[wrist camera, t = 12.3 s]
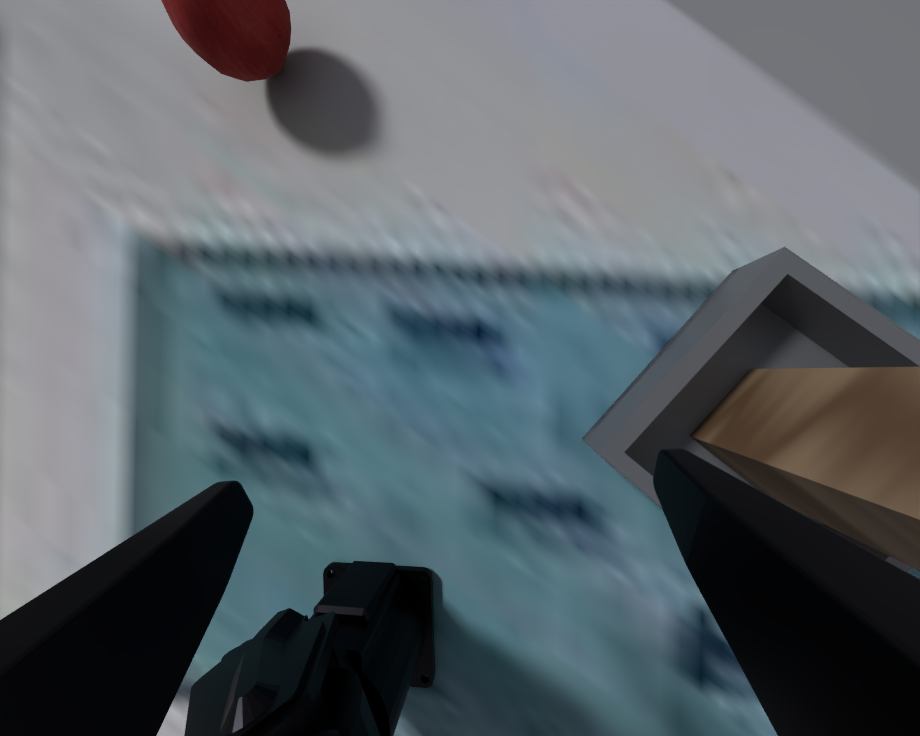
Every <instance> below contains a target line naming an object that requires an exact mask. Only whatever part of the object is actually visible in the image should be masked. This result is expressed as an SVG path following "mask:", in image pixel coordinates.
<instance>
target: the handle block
mask: <svg viewBox="0 0 920 736" xmlns="http://www.w3.org/2000/svg"><path fill="white" fill-rule="evenodd" d="M690 437H691V438H692V439H694V440H695V441H696V442H698V443H699V444H700V445H701V446H703V447H704V448H705V449H707V450H708V451H709V452H710V453H712V454H713V455H714V456H715V457H717V458H718V459H719V460H721V461H722V462H723V463H724V464H726V465H727V466H728V467H730V468H731V469H732V470H733V471H735V472H736V473H737V474H738V475H740V476H741V477H742V478H744V479H745V480H746V481H747V482H749V483H750V484H751V485H752V486H754V487H755V488H756V489H758V490H759V491H761V492H763V493H765V494H767V495H768V496H770V497H772V498H774V499H776V500H777V501H779V502H781V503H783V504H785V505H786V506H788V507H790V508H792V509H794V510H796V511H798V512H800V513H802V514H804V515H806V516H808V517H810V518H813V519H815V520H817V521H819V522H821V523H823V524H825V525H827V526H829V527H831V528H833V529H835V530H837V531H839V532H841V533H843V534H845V535H847V536H849V537H851V538H853V539H855V540H857V541H859V542H862V543H864V544H866V545H868V546H870V547H872V548H874V549H876V550H878V551H880V552H882V553H884V554H886V555H888V556H890V557H892V558H894V559H896V560H898V561H900V562H902V563H904V564H906V565H909V566H911V567H913V568H915V569H917V570H919V571H920V367H862V368H785V369H750V370H749V371H748V372H747V373H746V374H745V375H744V376H743V378H742V379H741V380H740V381H739V382H738V383H737V384H736V385H735V386H734V387H733V388H732V390H731V391H730V392H729V393H728V394H727V395H726V396H725V397H724V398H723V399H722V401H721V402H720V403H719V404H718V405H717V406H716V407H715V408H714V409H713V410H712V412H711V413H710V414H709V415H708V416H707V417H706V418H705V419H704V420H703V421H702V422H701V424H700V425H699V426H698V427H697V428H696V429H695V430H694V431H693V432H692V433H691V435H690Z"/></svg>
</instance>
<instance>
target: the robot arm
mask: <svg viewBox="0 0 920 736" xmlns="http://www.w3.org/2000/svg"><path fill="white" fill-rule="evenodd" d="M653 486H654V489H655V492H656V494H657V497H658V499H659V502H660V504H661V506H662V509H663V511H664V514H665V516H666V518H667V521H668V523H669V526H670V528H671V530H672V533H673V535H674V538H675V540H676V542H677V545H678V547H679V550H680V552H681V554H682V557H683V559H684V561H685V563H686V565H687V567H688V569H689V571H690V573H691V575H692V577H693V579H694V581H695V583H696V585H697V586H698V588H699V590H700V592H701V594H702V596H703V598H704V599H705V601H706V603H707V605H708V607H709V609H710V611H711V612H712V614H713V616H714V618H715V620H716V622H717V624H718V625H719V627H720V629H721V631H722V633H723V635H724V637H725V638H726V640H727V642H728V644H729V646H730V648H731V650H732V651H733V653H734V655H735V657H736V659H737V661H738V663H739V664H740V666H741V668H742V670H743V672H744V674H745V676H746V677H747V679H748V681H749V683H750V685H751V687H752V689H753V690H754V692H755V694H756V696H757V698H758V700H759V702H760V703H761V705H762V707H763V709H764V711H765V713H766V715H767V716H768V718H769V720H770V722H771V724H772V726H773V728H774V729H775V731H776V733H777V735H778V736H920V579H918V578H916V577H914V576H913V575H911V574H909V573H907V572H905V571H904V570H902V569H900V568H898V567H896V566H895V565H893V564H891V563H889V562H887V561H886V560H884V559H882V558H880V557H878V556H877V555H875V554H873V553H871V552H869V551H868V550H866V549H864V548H862V547H860V546H859V545H857V544H855V543H853V542H851V541H850V540H848V539H846V538H844V537H842V536H841V535H839V534H837V533H835V532H833V531H832V530H830V529H828V528H826V527H824V526H823V525H821V524H819V523H817V522H815V521H814V520H812V519H810V518H808V517H806V516H804V515H803V514H801V513H799V512H797V511H795V510H794V509H792V508H790V507H788V506H786V505H785V504H783V503H781V502H779V501H777V500H776V499H774V498H772V497H770V496H768V495H767V494H765V493H763V492H761V491H759V490H758V489H756V488H754V487H752V486H750V485H749V484H747V483H745V482H743V481H741V480H740V479H738V478H736V477H734V476H732V475H731V474H729V473H727V472H725V471H723V470H722V469H720V468H718V467H716V466H714V465H713V464H711V463H709V462H707V461H705V460H704V459H702V458H700V457H698V456H696V455H695V454H693V453H691V452H689V451H687V450H685V449H683V448H666V449H661V450H660V451H659V452H658V455H657V460H656V465H655V470H654V475H653ZM252 518H253V505H252V503H251V502H250V500H249V498H248V496H247V494H246V492H245V490H244V489H243V487H242V485H241V484H240V483H239V482H238V481H222V482H217V483H215V484H213V485H212V486H210V487H208V488H207V489H205V490H204V491H202V492H201V493H199V494H197V495H196V496H194V497H193V498H191V499H190V500H188V501H186V502H185V503H183V504H182V505H180V506H179V507H177V508H176V509H174V510H172V511H171V512H169V513H168V514H166V515H165V516H163V517H161V518H160V519H158V520H157V521H155V522H154V523H152V524H150V525H149V526H147V527H146V528H144V529H143V530H141V531H139V532H138V533H136V534H135V535H133V536H132V537H130V538H128V539H127V540H125V541H124V542H122V543H121V544H119V545H117V546H116V547H114V548H113V549H111V550H110V551H108V552H106V553H105V554H103V555H102V556H100V557H99V558H97V559H95V560H94V561H92V562H91V563H89V564H88V565H86V566H84V567H83V568H81V569H80V570H78V571H77V572H75V573H73V574H72V575H70V576H69V577H67V578H66V579H64V580H62V581H61V582H59V583H58V584H56V585H55V586H53V587H51V588H50V589H48V590H47V591H45V592H44V593H42V594H41V595H39V596H37V597H36V598H34V599H33V600H31V601H30V602H28V603H26V604H25V605H23V606H22V607H20V608H19V609H17V610H15V611H14V612H12V613H11V614H9V615H8V616H6V617H4V618H3V619H1V620H0V736H156V735H157V733H158V731H159V729H160V727H161V725H162V723H163V720H164V718H165V716H166V714H167V712H168V710H169V708H170V706H171V704H172V702H173V699H174V697H175V695H176V693H177V691H178V689H179V687H180V685H181V683H182V680H183V678H184V676H185V674H186V672H187V670H188V668H189V666H190V664H191V662H192V659H193V657H194V655H195V653H196V651H197V649H198V647H199V645H200V643H201V640H202V638H203V636H204V634H205V632H206V630H207V628H208V626H209V624H210V622H211V619H212V617H213V615H214V613H215V611H216V609H217V607H218V605H219V603H220V600H221V598H222V596H223V594H224V592H225V589H226V587H227V584H228V582H229V579H230V577H231V574H232V572H233V569H234V566H235V563H236V561H237V558H238V555H239V553H240V550H241V547H242V545H243V542H244V539H245V537H246V534H247V531H248V529H249V526H250V523H251V521H252ZM331 570H333V571H334V572H335V575H333V574H332V573H331ZM421 575H422V576H424V577H425V578H426V580H422V579H421V578H420V576H421ZM323 582H324V597H323V598H322V599H321V600H320V601H319V603H318V604H317V605H316V606H315V607H314V614H313V615H312V617H311V618H310V619H308V617H307V615H306V616H303V615H301V614H300V613H298V612H296V611H294V610H292V609H291V608H289V609H286V610H283V611H280V612H278V613H277V614H276V615H275V616H274V617H273V618H272V619H271V620H270V621H269V622H268V623H267V624H266V625H265V626H264V627H263V628H262V629H261V630H260V631H259V632H258V633H257V634H256V636H255V637H254V638H253V639H251V640H248V641H246V642H244V643H243V644H242V645H240V646H239V647H236V648H234V649H233V650H231V651H229V652H228V653H227V654H226V655H224V656H223V658H222V660H221V662H219V663H218V664H217V665H216V666H215V667H213V668H212V669H211V670H210V671H208V672H207V673H206V674H205V675H204V676H202V677H201V678H200V679H199V680H198V681H197V682H195V683H194V685H193V686H192V688H191V694H190V701H189V708H188V715H187V722H186V729H185V736H393V735H394V732H395V729H396V726H397V723H398V720H399V717H400V714H401V711H402V708H403V705H404V702H405V699H406V696H407V693H408V690H409V687H410V686H412V687H422V688H428V687H430V686H431V685H432V684H433V681H434V677H435V653H434V618H433V583H432V573H431V571H430V570H429V569H427V568H425V567H412V566H396V565H395V564H393V563H382V562H364V561H354V562H353V563H339V562H333V563H330V564H329V565H328V566H327V567H326V568H325V570H324V573H323ZM423 674H426V675H427V676H428V677H424V675H423Z"/></svg>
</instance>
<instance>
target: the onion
mask: <svg viewBox="0 0 920 736" xmlns="http://www.w3.org/2000/svg"><path fill="white" fill-rule="evenodd" d="M162 3H163V5H164V7H165V9H166V11H167V13H168V15H169V17H170V19H171V21H172V23H173V25H174V27H175V28H176V30H177V31H178V33H179V34H180V36H181V37H182V39H183V40H184V41H185V42H186V43H187V44H188V45H189V46H190V47H191V48H192V49H193V51H194V52H195V53H196V54H198V55H199V56H200V57H201V58H202V59H204V60H205V61H206V62H207V63H208V64H210V65H211V66H212V67H213V68H215V69H216V70H217V71H219V72H220V73H221V74H224V75H227V76H230V77H233V78H236V79H239V80H243V81H255V80H263V79H267V78H269V77H275V76H277V75H279V74H280V73H281V72H282V71H283V68H284V63H285V59H286V56H287V52H288V49H289V45H290V37H291V22H290V12H289V9H288V7H287V4H286V1H285V0H162Z"/></svg>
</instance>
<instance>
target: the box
mask: <svg viewBox="0 0 920 736" xmlns="http://www.w3.org/2000/svg"><path fill="white" fill-rule="evenodd" d="M862 367H920V340H919V339H917V338H916V337H914V336H913V335H911V334H910V333H909V332H907V331H906V330H904V329H903V328H901V327H900V326H898V325H897V324H896V323H894V322H893V321H891V320H890V319H888V318H887V317H885V316H884V315H883V314H881V313H880V312H878V311H877V310H875V309H874V308H872V307H871V306H870V305H868V304H867V303H865V302H864V301H862V300H861V299H859V298H858V297H857V296H855V295H854V294H852V293H851V292H849V291H848V290H846V289H845V288H844V287H842V286H841V285H839V284H838V283H836V282H835V281H833V280H832V279H831V278H829V277H828V276H826V275H825V274H823V273H822V272H820V271H819V270H818V269H816V268H815V267H813V266H812V265H810V264H809V263H807V262H806V261H805V260H803V259H802V258H800V257H799V256H797V255H796V254H794V253H793V252H791V251H790V250H789V249H787V248H786V247H783V248H781V249H779V250H777V251H775V252H773V253H770V254H768V255H766V256H764V257H762V258H760V259H757V260H755V261H753V262H751V263H749V264H747V265H744V266H742V267H740V268H738V269H736V270H734V271H732V272H731V273H730V274H729V275H728V277H727V278H726V279H725V280H724V281H723V282H722V283H721V284H720V286H719V287H718V288H717V289H716V290H715V291H714V292H713V293H712V294H711V296H710V297H709V298H708V299H707V300H706V301H705V302H704V303H703V304H702V306H701V307H700V308H699V309H698V310H697V311H696V312H695V313H694V315H693V316H692V317H691V318H690V319H689V320H688V321H687V322H686V323H685V325H684V326H683V327H682V328H681V329H680V330H679V331H678V332H677V333H676V335H675V336H674V337H673V338H672V339H671V340H670V341H669V342H668V343H667V345H666V346H665V347H664V348H663V349H662V350H661V351H660V352H659V354H658V355H657V356H656V357H655V358H654V359H653V360H652V361H651V362H650V364H649V365H648V366H647V367H646V368H645V369H644V370H643V371H642V372H641V374H640V375H639V376H638V377H637V378H636V379H635V380H634V381H633V382H632V384H631V385H630V386H629V387H628V388H627V389H626V390H625V391H624V393H623V394H622V395H621V396H620V397H619V398H618V399H617V400H616V401H615V403H614V404H613V405H612V406H611V407H610V408H609V409H608V410H607V411H606V413H605V414H604V415H603V416H602V417H601V418H600V419H599V420H598V422H597V423H596V424H595V425H594V426H593V427H592V428H591V429H590V430H589V432H588V433H587V434H586V435H585V436H584V437H583V438H582V439H583V440H584V441H585V442H586V443H587V444H588V445H589V446H590V447H591V448H592V449H593V450H594V451H595V452H596V453H597V454H598V455H600V456H601V457H602V458H603V459H604V460H605V461H607V462H608V463H609V464H610V465H611V466H613V467H614V468H615V469H616V470H617V471H619V472H620V473H621V474H622V475H623V476H625V477H626V478H627V479H628V480H629V481H630V482H632V483H633V484H634V485H635V486H636V487H638V488H639V489H640V490H641V491H642V492H644V493H645V494H646V495H647V496H648V497H650V498H651V499H652V500H653V501H654V502H655V503H657V504H658V505H659V506H660V507H661V508H662V506H661V504H660V502H659V499H658V497H657V494H656V492H655V489H654V486H653V475H654V470H655V465H656V460H657V455H658V452H659V451H660V450H661V449H666V448H683V449H685V450H687V451H689V452H691V453H693V454H695V455H696V456H698V457H700V458H702V459H704V460H705V461H707V462H709V463H711V464H713V465H714V466H716V467H718V468H720V469H722V470H723V471H725V472H727V473H729V474H731V475H732V476H734V477H736V478H738V479H740V480H741V481H743V482H745V483H747V484H749V485H750V486H752V485H751V484H750V483H749V482H747V481H746V480H745V479H744V478H742V477H741V476H740V475H738V474H737V473H736V472H735V471H733V470H732V469H731V468H730V467H728V466H727V465H726V464H724V463H723V462H722V461H721V460H719V459H718V458H717V457H715V456H714V455H713V454H712V453H710V452H709V451H708V450H707V449H705V448H704V447H703V446H701V445H700V444H699V443H698V442H696V441H695V440H694V439H692V438H691V437H690V435H691V433H692V432H693V431H694V430H695V429H696V428H697V427H698V426H699V425H700V424H701V422H702V421H703V420H704V419H705V418H706V417H707V416H708V415H709V414H710V413H711V412H712V410H713V409H714V408H715V407H716V406H717V405H718V404H719V403H720V402H721V401H722V399H723V398H724V397H725V396H726V395H727V394H728V393H729V392H730V391H731V390H732V388H733V387H734V386H735V385H736V384H737V383H738V382H739V381H740V380H741V379H742V378H743V376H744V375H745V374H746V373H747V372H748V371H749V370H750V369H785V368H862ZM752 487H754V486H752ZM754 488H755V487H754ZM795 511H796V510H795ZM797 512H798V511H797ZM799 513H800V512H799ZM801 514H802V513H801ZM803 515H804V514H803ZM804 516H806V515H804ZM806 517H808V516H806ZM808 518H810V517H808ZM810 519H812V520H814V521H815V522H817V523H819V524H821V525H823V526H824V527H826V528H828V529H830V530H832V531H833V532H835V533H837V534H839V535H841V536H842V537H844V538H846V539H848V540H850V541H851V542H853V543H855V544H857V545H859V546H860V547H862V548H864V549H866V550H868V551H869V552H871V553H873V554H875V555H877V556H878V557H880V558H882V559H884V560H886V561H887V562H889V563H891V564H893V565H895V566H896V567H898V568H900V569H902V570H904V571H905V572H907V571H908V570H909V569H910V568H911V566H909V565H906V564H904V563H902V562H900V561H898V560H896V559H894V558H892V557H890V556H888V555H886V554H884V553H882V552H880V551H878V550H876V549H874V548H872V547H870V546H868V545H866V544H864V543H862V542H859V541H857V540H855V539H853V538H851V537H849V536H847V535H845V534H843V533H841V532H839V531H837V530H835V529H833V528H831V527H829V526H827V525H825V524H823V523H821V522H819V521H817V520H815V519H813V518H810Z"/></svg>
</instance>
